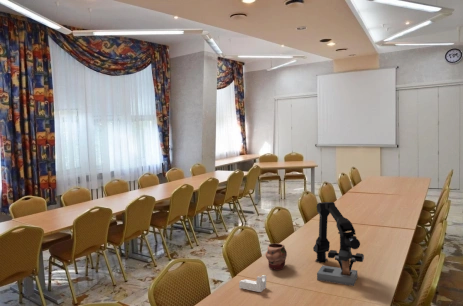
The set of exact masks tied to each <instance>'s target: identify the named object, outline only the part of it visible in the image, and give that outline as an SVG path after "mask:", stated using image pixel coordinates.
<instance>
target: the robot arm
mask: <svg viewBox="0 0 463 306" xmlns="http://www.w3.org/2000/svg"><path fill="white" fill-rule="evenodd" d="M316 212H317V214H318V216H319V219H318V220H319V223H318V224H319V225H318V227H319V228H318V237H317V238H316V240H315V244H314V245H313V248H312V250H313V252H314V253H316V259H315V261H314V262H317V263H322V264H323V263H326V262H327V261H328V258H329V259H334V260H335V261H337V263H338V264H339V268H341V270H342V261H348V259H350V271H351V270H352V267H353V264H354V263H356V262H357V263H363V261H364V259H365V255H364V254H363V253H358V252H356V253H355V254H353V253H352V250H357V249H359V248H360V246H361V242H360V240H359V239H358V238H357V235H356V229H355V228H354V225H353V224H352V222H351V221H350V220H349V219H348V218H346V217H344V216H343V214H342V213H341V211H340V210H339V208H338V207H337V206H336V203H335V202H334V201H326V202H325V201H324V202H323V201H322V202H318V203H317V204H316ZM330 215H331V216H332V218H333V219H334V221H335V222H336V225H335V226H336V228H337V230H338V232H337V234H338V235H339V251H338V250H335V249H334V250H333V249H330V246H331V245H330V241H329V239H328V217H329V216H330Z"/></svg>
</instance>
